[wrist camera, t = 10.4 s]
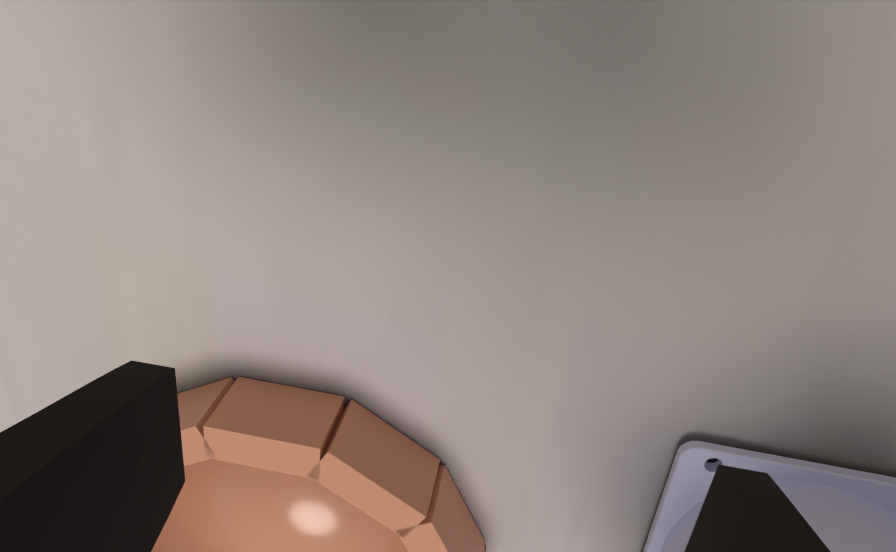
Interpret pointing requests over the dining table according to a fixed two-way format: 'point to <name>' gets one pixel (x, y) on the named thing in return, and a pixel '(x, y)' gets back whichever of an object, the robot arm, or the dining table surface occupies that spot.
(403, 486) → the dish
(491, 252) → the dining table surface
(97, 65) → the dining table surface
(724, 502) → the robot arm
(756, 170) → the dining table surface
